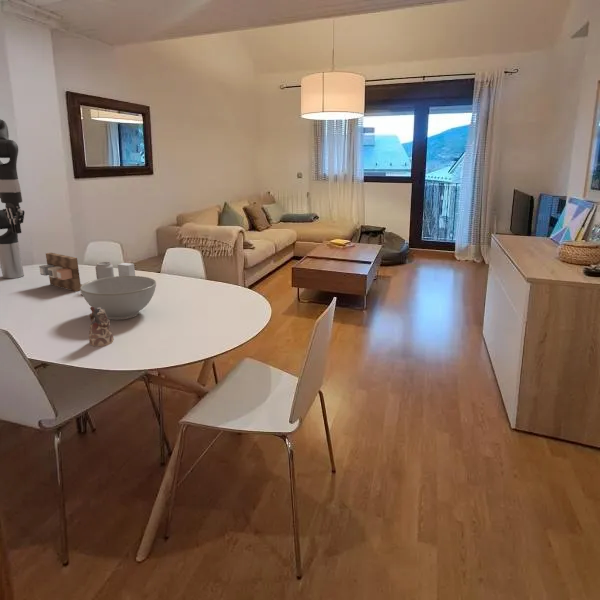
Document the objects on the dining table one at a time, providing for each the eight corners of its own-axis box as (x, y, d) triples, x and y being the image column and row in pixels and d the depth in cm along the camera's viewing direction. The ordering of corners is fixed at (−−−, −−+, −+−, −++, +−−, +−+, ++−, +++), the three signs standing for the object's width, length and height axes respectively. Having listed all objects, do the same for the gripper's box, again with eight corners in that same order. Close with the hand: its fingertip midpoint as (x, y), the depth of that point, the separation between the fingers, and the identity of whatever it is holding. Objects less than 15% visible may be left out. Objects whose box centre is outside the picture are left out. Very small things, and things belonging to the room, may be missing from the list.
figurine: (100, 347, 143) (96, 311, 140) (84, 344, 146) (79, 308, 142) (118, 340, 149) (114, 305, 146) (102, 336, 152) (98, 302, 149)
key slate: (39, 274, 209) (38, 266, 208) (53, 272, 214) (52, 263, 213) (44, 275, 207) (43, 267, 206) (58, 273, 212) (56, 264, 211)
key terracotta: (56, 279, 202) (55, 270, 200) (70, 276, 207) (69, 267, 206) (61, 280, 199) (60, 271, 198) (75, 277, 205) (74, 268, 203)
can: (118, 286, 213) (115, 261, 210) (110, 290, 206) (107, 264, 203) (103, 285, 214) (100, 260, 211) (94, 290, 207) (91, 264, 204)
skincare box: (136, 288, 210) (134, 263, 206) (130, 291, 206) (128, 265, 202) (126, 287, 212) (123, 262, 208) (119, 289, 208) (117, 264, 204)
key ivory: (48, 276, 205) (46, 268, 204) (61, 274, 210) (60, 265, 209) (53, 278, 203) (51, 269, 202) (66, 275, 208) (65, 266, 207)
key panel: (50, 284, 215) (45, 253, 211) (63, 281, 220) (59, 251, 216) (76, 291, 204) (71, 258, 200) (89, 288, 210) (85, 256, 205)
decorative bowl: (170, 306, 185) (168, 278, 181) (134, 329, 159) (131, 296, 156) (111, 302, 190) (108, 274, 186) (67, 323, 165) (63, 291, 161)
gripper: (-9, 190, 187) (-1, 232, 192) (8, 192, 180) (16, 235, 185) (11, 189, 193) (18, 230, 198) (28, 191, 186) (34, 233, 191)
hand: (17, 232), depth 191 cm, fingers closed
